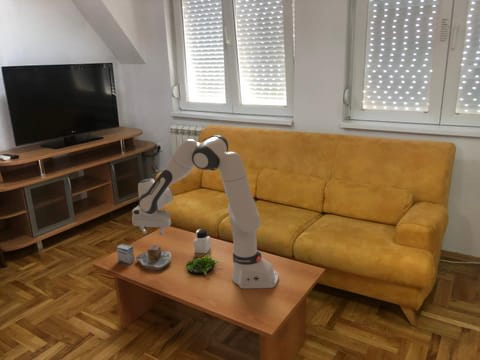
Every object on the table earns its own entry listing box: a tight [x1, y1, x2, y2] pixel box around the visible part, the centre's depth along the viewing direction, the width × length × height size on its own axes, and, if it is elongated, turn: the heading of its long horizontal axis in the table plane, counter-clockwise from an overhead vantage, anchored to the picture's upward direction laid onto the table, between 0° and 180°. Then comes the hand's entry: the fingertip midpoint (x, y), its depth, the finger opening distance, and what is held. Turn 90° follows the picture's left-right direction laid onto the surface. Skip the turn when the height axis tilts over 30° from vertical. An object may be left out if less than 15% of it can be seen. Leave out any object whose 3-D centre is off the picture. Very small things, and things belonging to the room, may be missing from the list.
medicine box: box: [116, 243, 136, 265], centre depth 221 cm, size 8×4×9 cm, turn 62°
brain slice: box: [135, 249, 172, 271], centre depth 220 cm, size 20×17×3 cm
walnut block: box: [147, 244, 162, 260], centre depth 218 cm, size 5×5×6 cm
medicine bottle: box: [193, 228, 212, 254], centre depth 228 cm, size 7×7×12 cm
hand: (153, 233), depth 215 cm, fingers open, 8 cm apart
